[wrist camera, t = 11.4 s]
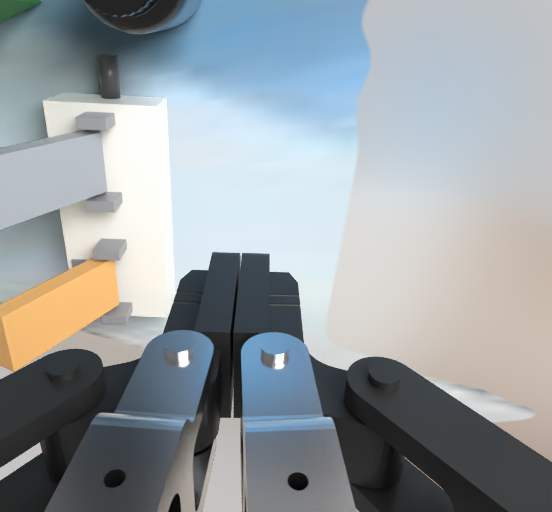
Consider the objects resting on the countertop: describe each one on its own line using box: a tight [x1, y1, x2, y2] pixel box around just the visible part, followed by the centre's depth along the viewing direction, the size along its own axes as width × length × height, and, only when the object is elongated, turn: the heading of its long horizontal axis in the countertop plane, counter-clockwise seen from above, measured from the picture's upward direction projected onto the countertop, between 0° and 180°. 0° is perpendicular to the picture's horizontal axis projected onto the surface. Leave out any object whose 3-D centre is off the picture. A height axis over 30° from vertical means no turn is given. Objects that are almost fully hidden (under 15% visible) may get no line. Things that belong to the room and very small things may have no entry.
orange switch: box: [0, 258, 119, 372], centre depth 36 cm, size 5×1×10 cm, turn 177°
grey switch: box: [0, 130, 107, 230], centre depth 32 cm, size 5×1×10 cm, turn 177°
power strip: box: [43, 54, 176, 325], centre depth 39 cm, size 21×8×6 cm, turn 177°
